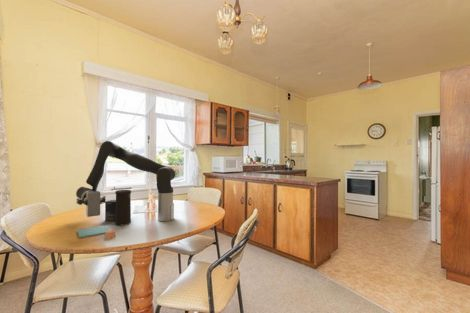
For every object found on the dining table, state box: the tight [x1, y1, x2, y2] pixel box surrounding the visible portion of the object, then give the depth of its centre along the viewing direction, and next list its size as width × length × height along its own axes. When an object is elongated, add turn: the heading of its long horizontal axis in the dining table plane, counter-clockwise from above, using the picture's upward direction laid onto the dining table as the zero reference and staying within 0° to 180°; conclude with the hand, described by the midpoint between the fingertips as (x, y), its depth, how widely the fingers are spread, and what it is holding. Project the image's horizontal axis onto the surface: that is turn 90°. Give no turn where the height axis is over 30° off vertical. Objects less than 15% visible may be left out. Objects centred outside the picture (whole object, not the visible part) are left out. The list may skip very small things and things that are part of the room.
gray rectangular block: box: [85, 190, 101, 218], centre depth 120 cm, size 6×6×12 cm
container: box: [114, 189, 132, 226], centre depth 136 cm, size 9×9×20 cm
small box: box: [104, 199, 116, 222], centre depth 144 cm, size 13×7×12 cm, turn 84°
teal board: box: [77, 224, 109, 239], centre depth 120 cm, size 13×13×1 cm
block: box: [104, 229, 116, 240], centre depth 112 cm, size 3×3×3 cm
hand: (94, 202), depth 118 cm, fingers closed on gray rectangular block, 5 cm apart
